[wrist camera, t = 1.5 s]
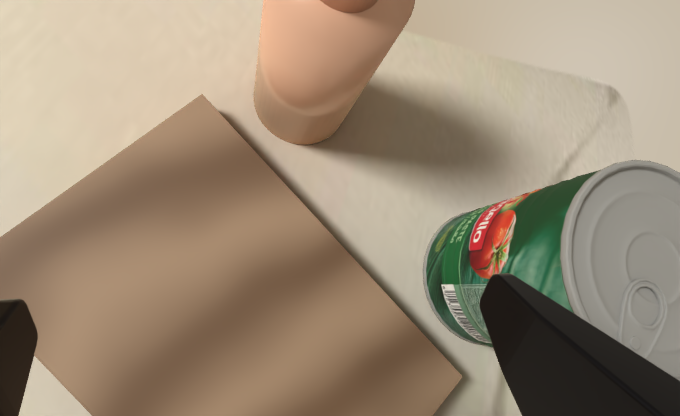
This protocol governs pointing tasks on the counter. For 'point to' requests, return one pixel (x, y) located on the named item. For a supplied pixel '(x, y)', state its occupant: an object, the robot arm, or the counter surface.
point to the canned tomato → (573, 257)
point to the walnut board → (210, 291)
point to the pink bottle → (320, 61)
